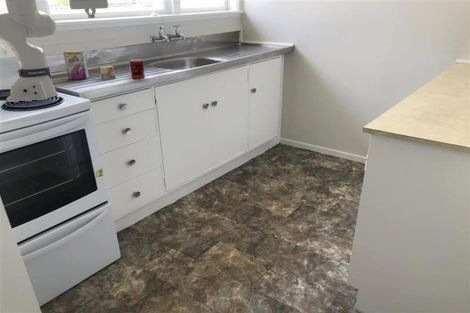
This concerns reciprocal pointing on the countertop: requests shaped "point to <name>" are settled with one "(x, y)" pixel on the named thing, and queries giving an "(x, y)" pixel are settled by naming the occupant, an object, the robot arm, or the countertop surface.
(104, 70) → the birch block
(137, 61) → the canned food
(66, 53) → the candy bar box
